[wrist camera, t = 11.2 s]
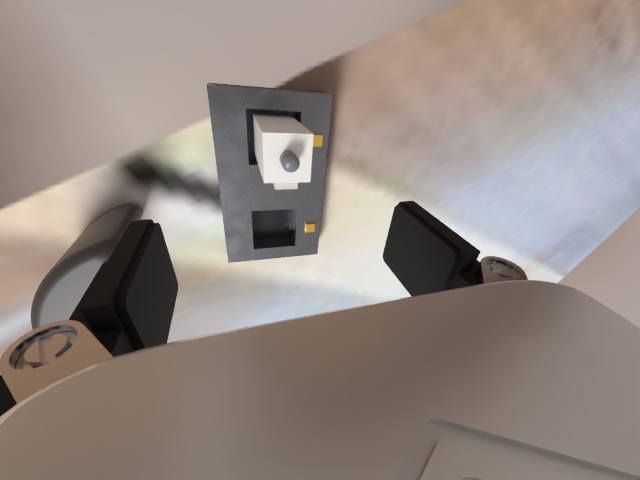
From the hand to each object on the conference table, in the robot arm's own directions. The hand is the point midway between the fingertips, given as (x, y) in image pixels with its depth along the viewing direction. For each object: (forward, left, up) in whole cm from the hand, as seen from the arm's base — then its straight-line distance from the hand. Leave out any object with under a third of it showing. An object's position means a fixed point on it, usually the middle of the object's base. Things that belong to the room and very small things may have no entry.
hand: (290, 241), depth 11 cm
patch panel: (+6, +2, -23) cm, 24 cm away
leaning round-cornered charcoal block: (+15, -17, -23) cm, 32 cm away
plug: (0, +2, -23) cm, 23 cm away
